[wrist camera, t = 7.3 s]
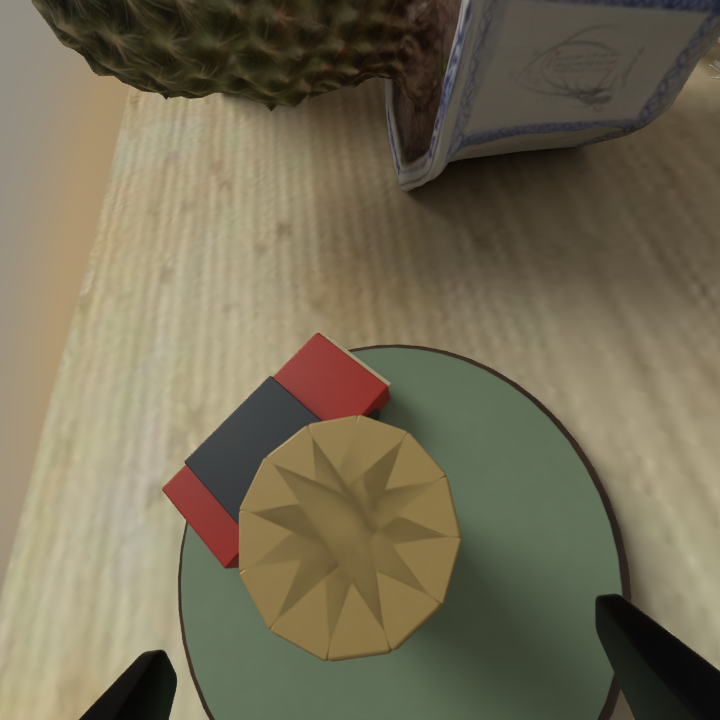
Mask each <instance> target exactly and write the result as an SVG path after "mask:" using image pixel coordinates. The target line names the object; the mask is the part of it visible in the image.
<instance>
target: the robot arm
mask: <svg viewBox="0 0 720 720" xmlns="http://www.w3.org/2000/svg"><path fill="white" fill-rule="evenodd" d="M595 626H596V631H597V634H598V637H599V639H600V642H601V644H602V646H603V649H604V651H605V653H606V655H607V657H608V660H609V662H610V664H611V666H612V669H613V671H614V673H615V675H616V678H617V680H618V682H619V684H620V687H621V689H622V691H623V693H624V695H625V698H626V700H627V702H628V704H629V707H630V709H631V711H632V713H633V716H634V718H635V720H720V671H719V670H718V669H716V668H715V667H714V666H713V665H711V664H710V663H709V662H707V661H706V660H705V659H703V658H702V657H701V656H700V655H698V654H697V653H696V652H694V651H693V650H692V649H690V648H689V647H688V646H686V645H685V644H684V643H683V642H681V641H680V640H679V639H677V638H676V637H675V636H673V635H672V634H671V633H670V632H668V631H667V630H666V629H664V628H663V627H662V626H660V625H659V624H658V623H657V622H655V621H654V620H653V619H651V618H650V617H649V616H647V615H646V614H645V613H644V612H642V611H641V610H640V609H638V608H637V607H636V606H634V605H633V604H632V603H630V602H629V601H628V600H627V599H625V598H624V597H623V596H621V595H619V594H616V593H612V594H604V595H598V596H597V597H596V600H595ZM176 687H177V676H176V673H175V671H174V668H173V666H172V664H171V662H170V660H169V658H168V656H167V654H166V652H165V651H163V650H154V651H147V652H144V653H143V654H141V655H140V656H139V657H138V658H137V659H136V660H135V661H134V662H133V663H132V664H131V665H130V666H129V668H128V669H127V670H126V671H125V672H124V673H123V674H122V675H121V676H120V677H119V678H118V679H117V680H116V681H115V682H114V683H113V684H112V685H111V686H110V687H109V688H108V690H107V691H106V692H105V693H104V694H103V695H102V696H101V697H100V698H99V699H98V700H97V701H96V702H95V703H94V704H93V705H92V706H91V707H90V708H89V709H88V710H87V712H86V713H85V714H84V715H83V716H82V717H81V718H80V719H79V720H169V716H170V712H171V708H172V704H173V700H174V696H175V692H176Z"/></svg>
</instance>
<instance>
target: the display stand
mask: <svg viewBox="0 0 720 720" xmlns="http://www.w3.org/2000/svg"><path fill="white" fill-rule="evenodd" d="M381 348H405V349H418V350H424V351H429V352H435V353H440V354H443V355H447V356H450V357H453V358H456V359H460V360H463V361H465V362H468V363H470V364H472V365H474V366H477V367H479V368H481V369H484V370H486V371H488V372H489V373H491V374H493V375H494V376H496V377H498V378H500V379H501V380H503V381H505V382H506V383H508V384H509V385H511V386H512V387H514V388H515V389H516V390H518V391H519V392H520V393H522V394H523V395H524V396H526V397H527V398H528V399H530V400H531V401H532V402H533V403H534V404H535V405H536V406H537V407H538V408H539V409H540V410H541V411H542V412H543V413H544V414H545V415H546V416H548V417H549V418H550V420H551V421H552V422H553V423H554V424H555V425H556V427H557V428H558V429H559V430H560V431H561V433H562V434H563V435H564V436H565V437H566V438H567V440H568V441H569V442H570V444H571V445H572V447H573V448H574V450H575V451H576V453H577V454H578V456H579V457H580V459H581V461H582V462H583V464H584V465H585V467H586V469H587V471H588V473H589V475H590V477H591V479H592V481H593V482H594V484H595V486H596V488H597V490H598V492H599V494H600V497H601V500H602V503H603V505H604V508H605V511H606V513H607V516H608V519H609V521H610V524H611V528H612V532H613V536H614V541H615V545H616V549H617V553H618V557H619V566H620V575H621V584H622V592H623V594H622V596H623V597H624V598H625V599H627V600H628V601H629V602H630V603H632V600H631V590H630V580H629V570H628V562H627V558H626V554H625V549H624V545H623V540H622V536H621V531H620V528H619V525H618V523H617V520H616V517H615V514H614V511H613V509H612V506H611V503H610V500H609V498H608V496H607V494H606V492H605V490H604V488H603V486H602V483H601V481H600V479H599V477H598V475H597V473H596V471H595V469H594V468H593V466H592V465H591V463H590V462H589V460H588V458H587V457H586V455H585V454H584V452H583V451H582V449H581V448H580V446H579V445H578V443H577V442H576V441H575V439H574V438H573V437H572V436H571V434H570V433H569V432H568V431H567V430H566V428H565V427H564V426H563V425H562V424H561V422H560V421H559V420H558V419H557V418H556V417H555V416H554V415H553V414H552V413H551V412H550V411H549V410H548V409H547V408H546V407H545V406H544V405H543V404H542V403H541V402H540V401H539V400H537V399H536V398H535V397H533V396H532V395H531V394H530V393H528V392H527V391H526V390H524V389H523V388H522V387H520V386H519V385H518V384H517V383H515V382H513V381H512V380H510V379H508V378H507V377H505V376H503V375H502V374H500V373H498V372H497V371H495V370H493V369H491V368H489V367H487V366H485V365H483V364H480V363H478V362H476V361H474V360H472V359H469V358H466V357H463V356H460V355H457V354H454V353H450V352H447V351H443V350H438V349H433V348H428V347H422V346H410V345H376V346H370V347H363V348H356V349H351V350H348V351H349V352H357V351H363V350H368V349H381ZM187 527H188V522H187V521H186V525H185V530H184V535H183V540H182V545H181V553H180V563H179V574H178V600H179V616H180V624H181V632H182V640H183V645H184V649H185V653H186V657H187V661H188V665H189V669H190V673H191V676H192V679H193V682H194V684H195V687H196V690H197V692H198V695H199V698H200V700H201V703H202V705H203V708H204V710H205V712H206V714H207V716H208V718H209V719H210V720H215V719H214V717H213V715H212V713H211V711H210V710H209V708H208V705H207V703H206V700H205V698H204V696H203V693H202V691H201V688H200V686H199V683H198V681H197V678H196V676H195V672H194V668H193V665H192V661H191V657H190V654H189V650H188V646H187V642H186V635H185V628H184V622H183V615H182V596H181V573H182V560H183V549H184V544H185V538H186V533H187ZM620 688H621V687H620V684H619V682H618V680H617V678H616V675H615V673H614V676H613V679H612V682H611V686H610V689H609V692H608V696H607V699H606V702H605V704H604V706H603V709H602V711H601V713H600V715H599V717H598V719H597V720H610V718H611V716H612V714H613V711H614V708H615V704H616V701H617V698H618V695H619V692H620Z"/></svg>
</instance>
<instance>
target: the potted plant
mask: <svg viewBox="0 0 720 720" xmlns="http://www.w3.org/2000/svg"><path fill="white" fill-rule="evenodd" d="M31 1H32V3H33V5H34V6H35V7H36V9H37V10H38V11H39V12H40V13H41V15H42V16H43V18H44V19H45V20H46V22H47V23H48V25H49V26H50V27H51V29H52V30H53V32H54V33H55V35H56V37H57V38H58V39H59V41H61V43H62V44H63V45H64V46H66V47H69V48H71V49H74V50H75V51H77V52H78V53H79V54H81V55H82V56H84V58H85V59H86V61H87V62H88V64H89V65H90V67H91V69H92V70H93V72H94V73H96V74H97V75H98V76H115V77H116V78H118V79H119V80H120V81H122V82H123V83H126V84H128V85H131V86H133V87H135V88H137V89H139V90H141V91H144V92H153V93H159V94H161V95H163V96H164V97H165V99H166V100H167V98H168V97H170V98H173V97H180V96H182V97H186V98H189V99H192V98H203V97H205V96H208V95H210V94H212V93H224V92H229V93H237V94H241V95H246V96H247V97H249V98H250V99H251V100H253V101H256V102H260V103H263V104H265V105H266V106H267V107H268V108H269V110H270V111H272V110H273V109H274V108H275V107H276V106H277V105H284V106H290V107H296V106H297V105H299V104H300V103H301V102H302V100H303V99H304V98H305V97H306V98H311V97H315V96H317V95H320V94H323V93H326V92H329V91H332V90H335V89H339V88H341V87H343V86H349V87H357V86H358V85H359V84H360V83H362V82H363V81H364V80H366V79H369V78H372V77H379V78H385V103H386V115H387V131H388V136H389V143H390V149H391V151H392V155H393V165H394V169H395V172H396V176H397V180H398V184H399V186H400V188H401V190H402V191H409V190H411V189H413V188H415V187H417V186H422V185H423V184H425V183H426V182H427V181H430V180H433V179H435V178H436V177H437V176H438V175H439V174H440V173H441V172H442V171H443V170H444V169H445V167H446V166H447V164H448V163H449V162H452V161H457V160H461V159H467V158H475V157H483V156H492V155H500V154H507V153H513V152H519V151H530V150H542V149H552V148H567V147H582V146H586V145H590V144H595V143H599V142H603V141H607V140H611V139H615V138H619V137H622V136H625V135H628V134H631V133H633V132H635V131H637V130H639V129H641V128H643V127H645V126H646V125H648V124H649V123H650V122H652V121H653V120H654V119H656V118H657V117H658V116H660V115H661V114H662V113H664V112H665V111H666V110H667V109H668V108H669V107H670V106H671V105H672V104H673V102H674V101H675V99H676V97H677V96H678V94H679V93H680V91H681V89H682V88H683V86H684V84H685V83H686V81H687V80H688V78H689V76H690V75H691V73H692V71H693V70H694V68H695V66H696V65H697V63H698V62H699V60H700V59H701V58H702V57H703V56H704V55H705V54H706V53H707V52H708V51H709V50H710V49H711V48H712V47H713V46H714V44H715V43H716V42H717V40H718V39H719V37H720V0H31Z"/></svg>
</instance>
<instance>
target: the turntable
mask: <svg viewBox="0 0 720 720" xmlns="http://www.w3.org/2000/svg"><path fill="white" fill-rule="evenodd" d="M185 464H186V465H185V466H184V467H183V468H182V469H181V470H180V471H179V472H178V473H177V474H176V475H175V476H174V477H173V478H172V479H171V480H170V481H169V482H168V483H167V484H166V485H165V486H164V487H163V489H162V490H163V492H164V493H165V494H166V495H167V497H168V498H169V499H170V500H171V502H172V503H173V504H174V505H175V507H176V508H177V509H178V510H179V512H180V513H181V514H182V515H183V517H184V518H185V519H186V520H187V522H188V527H187V533H186V538H185V544H184V549H183V560H182V573H181V596H182V615H183V622H184V628H185V635H186V642H187V646H188V650H189V654H190V657H191V661H192V665H193V668H194V672H195V676H196V678H197V681H198V683H199V686H200V688H201V691H202V693H203V696H204V698H205V700H206V703H207V705H208V708H209V710H210V711H211V713H212V715H213V717H214V719H215V720H597V719H598V717H599V715H600V713H601V711H602V709H603V706H604V704H605V702H606V699H607V696H608V692H609V689H610V686H611V682H612V679H613V676H614V671H613V669H612V666H611V664H610V662H609V660H608V657H607V655H606V653H605V651H604V649H603V646H602V644H601V642H600V639H599V637H598V634H597V631H596V626H595V600H596V597H597V596H598V595H604V594H612V593H616V594H619V595H621V596H622V594H623V592H622V584H621V575H620V566H619V557H618V553H617V549H616V545H615V541H614V536H613V532H612V528H611V524H610V521H609V519H608V516H607V513H606V511H605V508H604V505H603V503H602V500H601V497H600V494H599V492H598V490H597V488H596V486H595V484H594V482H593V481H592V479H591V477H590V475H589V473H588V471H587V469H586V467H585V465H584V464H583V462H582V461H581V459H580V457H579V456H578V454H577V453H576V451H575V450H574V448H573V447H572V445H571V444H570V442H569V441H568V440H567V438H566V437H565V436H564V435H563V434H562V433H561V431H560V430H559V429H558V428H557V427H556V425H555V424H554V423H553V422H552V421H551V420H550V418H549V417H548V416H546V415H545V414H544V413H543V412H542V411H541V410H540V409H539V408H538V407H537V406H536V405H535V404H534V403H533V402H532V401H531V400H530V399H528V398H527V397H526V396H524V395H523V394H522V393H520V392H519V391H518V390H516V389H515V388H514V387H512V386H511V385H509V384H508V383H506V382H505V381H503V380H501V379H500V378H498V377H496V376H494V375H493V374H491V373H489V372H488V371H486V370H484V369H481V368H479V367H477V366H474V365H472V364H470V363H468V362H465V361H463V360H460V359H456V358H453V357H450V356H447V355H443V354H440V353H435V352H429V351H424V350H418V349H405V348H381V349H368V350H363V351H357V352H349V351H348V350H347V349H345V348H344V347H343V346H341V345H340V344H339V343H338V342H336V341H335V340H334V339H332V338H331V337H328V338H327V339H326V338H325V337H324V336H322V335H321V334H320V333H316V334H315V335H314V336H313V337H312V338H311V339H310V340H309V341H308V342H307V343H306V344H305V345H304V346H303V347H302V348H301V349H300V350H299V351H298V352H297V353H296V354H295V355H294V356H293V357H292V358H291V359H290V360H289V361H288V362H287V363H286V364H285V365H284V366H283V367H282V369H281V370H280V371H279V372H278V373H277V374H276V375H275V376H274V377H272V376H269V377H268V378H267V379H266V380H265V381H264V382H263V383H262V384H261V385H260V386H259V387H258V388H257V389H256V390H255V391H254V392H253V393H252V394H251V395H250V396H249V397H248V398H247V399H246V400H245V401H244V402H243V403H242V404H241V405H240V406H239V407H238V408H237V409H236V410H235V411H234V412H233V413H232V414H231V415H230V416H229V417H228V418H227V419H226V420H225V421H224V422H223V423H222V424H221V425H220V426H219V427H218V428H217V429H216V430H215V431H214V432H213V433H212V434H211V435H210V436H209V437H208V438H207V439H206V440H205V441H204V442H203V443H202V444H201V445H200V446H199V447H198V448H197V449H196V451H195V452H194V453H193V454H192V455H191V456H190V457H189V458H188V459H187V460H186V461H185Z"/></svg>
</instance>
